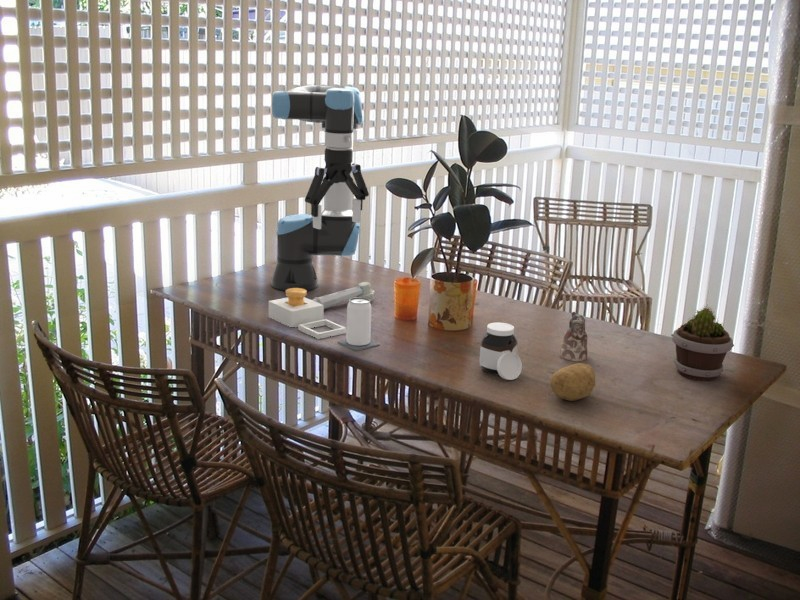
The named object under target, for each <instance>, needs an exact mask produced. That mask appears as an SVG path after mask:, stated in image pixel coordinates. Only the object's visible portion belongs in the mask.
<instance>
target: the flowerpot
mask: <svg viewBox="0 0 800 600" xmlns="http://www.w3.org/2000/svg"><path fill="white" fill-rule="evenodd" d="M695 313H696V314H695ZM694 314H695V315H693V316H692V317H690V316H689V319H688V321H687V322H686V323H683V324H681V325H680V327H678V328H677V329H675V330H674V331H673V333H672V334H670V335H671V337H672V342H673V343H674V344H675V355H676V357H675V358H674V361H673V363H674V366H675V368H676V370H677V372H678V373H679V374H680V375H681V376H683V377H686V378H689V379H695V380H696V381H712V380H716V379H717V378H718V376H720V375H721V373H722V372H724V364H723V362H724V360H725V359H726V355H727V353H728V352H730V351H731V350H732V349H733V347H735V344H734V341H733V340H734V339H733V338H732V337H730V333H729V332H727V330H725V328H724V326H725V325H724V323H723V322H721V323H719V317H718V318H717V316H716V313H715V311H714V310H713V307H711V306H709V305H708V304H706V305H703V308H702V309H695V312H694Z"/></svg>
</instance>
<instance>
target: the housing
mask: <svg viewBox="0 0 800 600" xmlns="http://www.w3.org/2000/svg"><path fill="white" fill-rule="evenodd" d="M288 298H289V297H288V296H286V297H283V298H278V299H273V300H268V318H269V319H271V318H272V319H271V320H273V319H274V321H275V322H278V323H280V322H281V323H280V324H282V325H284V324H285V325H284V326H286V325H287V326H286V327H288V326H289V328H290V327H295V328H298V331H300V332H302V333H304V334H307V335H308V336H310V335H311V336H310V337H312V336H313V337H312V338H314V337H315V338H314V339H317V340H320V338H322V339H325V338H330V336H331V337H333V336H334V337H335V336H339V335H345V334H347V327H346V326H343V325H341V324H338V323H336V322H333V321H332V320H330V319H327V318H325V319H324V311H325V309H324V305H322V304H320V303H317V302H315V301H313V300H312V299H310V298H307V297H306V296H305V297H304V305H299V306H291V305H289V304H288ZM322 326H326V327H328V328H331V330H326V331H320V332H318V331H316V330H313V329H314V327H315V328H318V327H322Z"/></svg>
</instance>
